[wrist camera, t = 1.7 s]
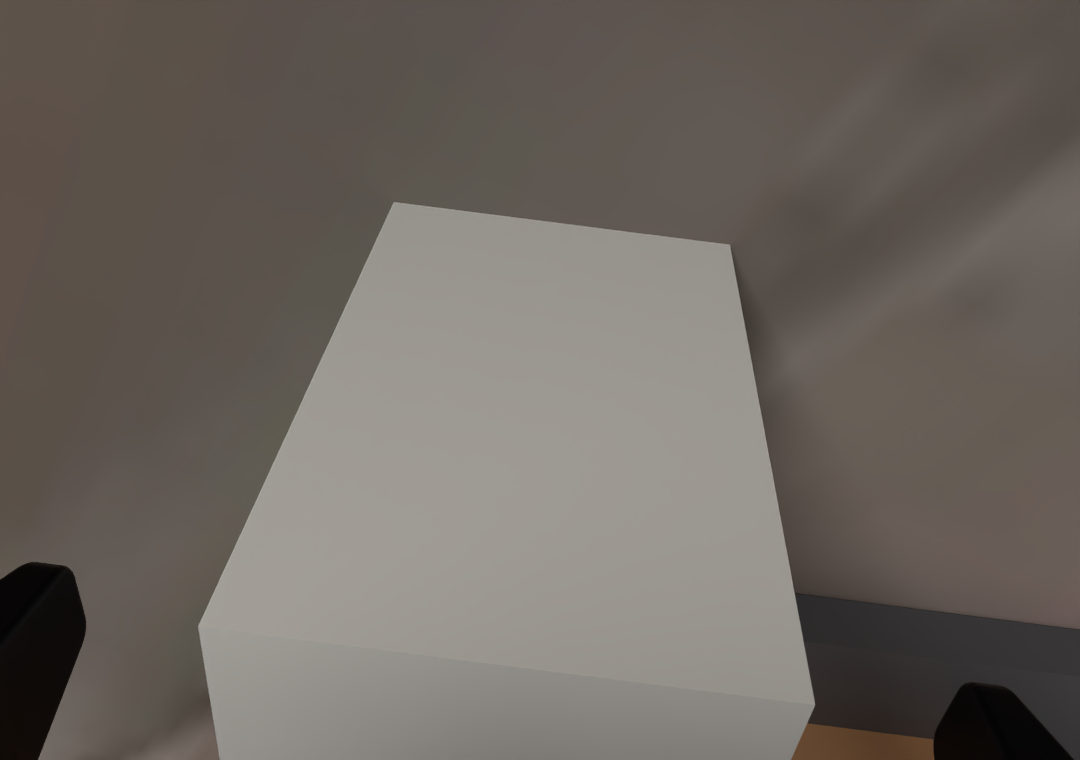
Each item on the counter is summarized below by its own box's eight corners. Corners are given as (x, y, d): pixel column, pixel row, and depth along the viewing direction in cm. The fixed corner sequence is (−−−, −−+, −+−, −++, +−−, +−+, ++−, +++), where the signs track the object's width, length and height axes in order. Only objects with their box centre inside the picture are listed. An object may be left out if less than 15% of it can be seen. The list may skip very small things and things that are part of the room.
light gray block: (668, 493, 15) (702, 1171, 8) (390, 457, 15) (189, 1105, 8) (730, 244, 12) (854, 925, 6) (393, 201, 12) (104, 829, 6)
